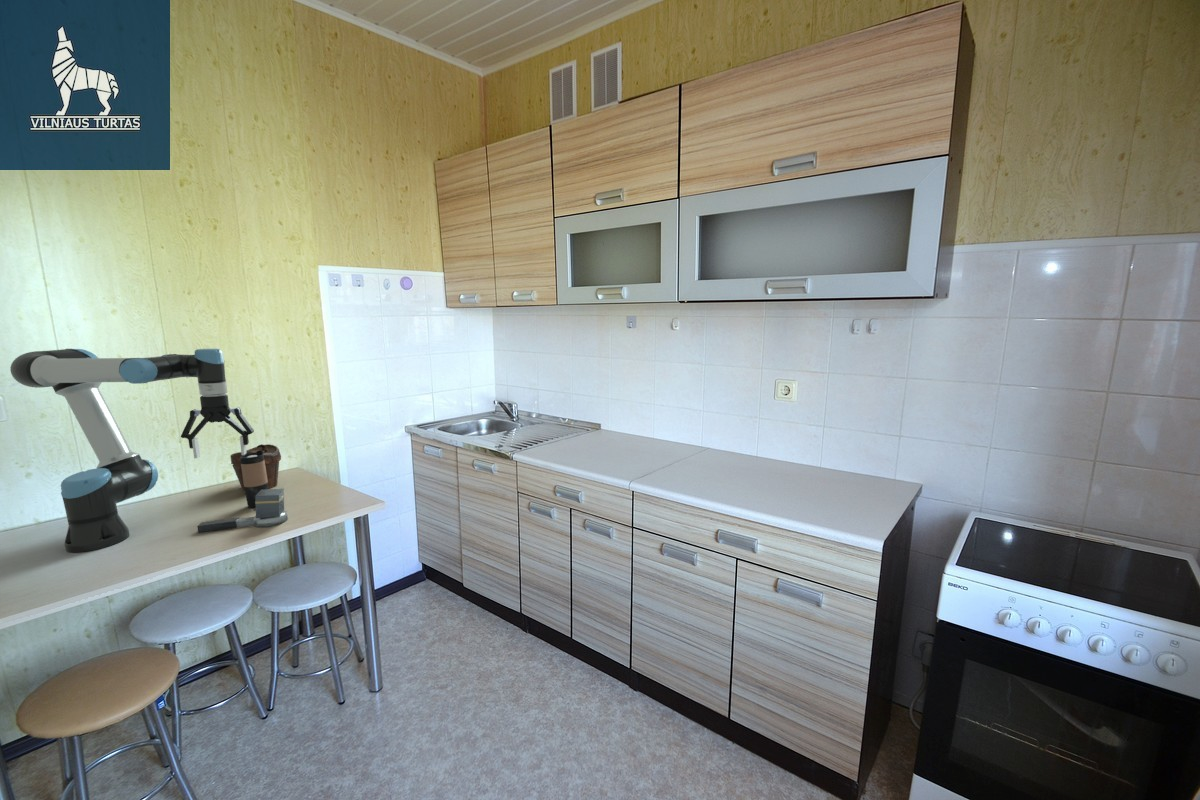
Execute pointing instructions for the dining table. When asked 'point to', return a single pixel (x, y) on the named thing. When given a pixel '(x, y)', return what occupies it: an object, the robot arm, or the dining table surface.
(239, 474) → the brown tapered pot
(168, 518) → the dining table surface
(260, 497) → the gold-striped grey cube
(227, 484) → the dining table surface
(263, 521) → the ratchet
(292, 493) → the dining table surface
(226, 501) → the dining table surface
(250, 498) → the travel mug
